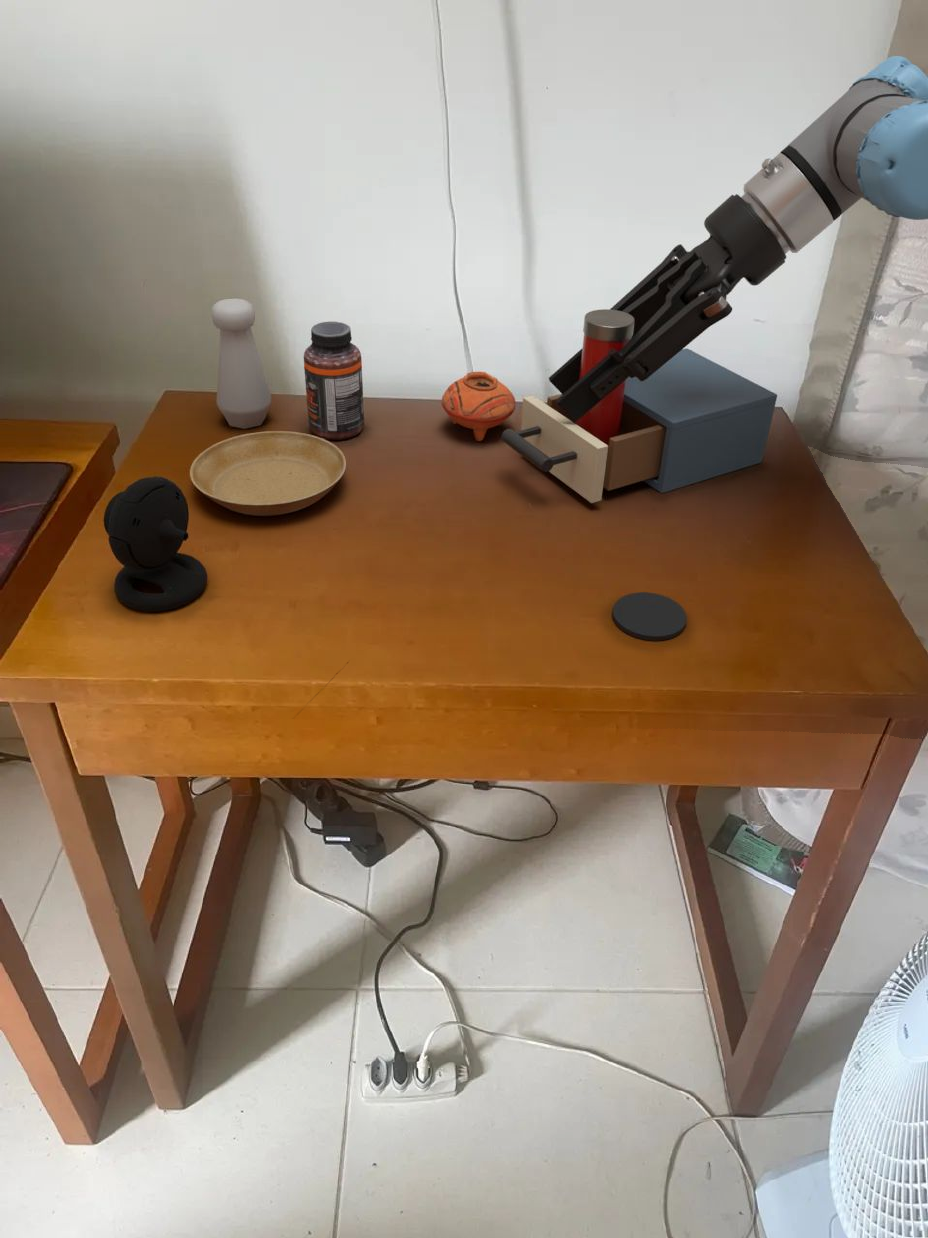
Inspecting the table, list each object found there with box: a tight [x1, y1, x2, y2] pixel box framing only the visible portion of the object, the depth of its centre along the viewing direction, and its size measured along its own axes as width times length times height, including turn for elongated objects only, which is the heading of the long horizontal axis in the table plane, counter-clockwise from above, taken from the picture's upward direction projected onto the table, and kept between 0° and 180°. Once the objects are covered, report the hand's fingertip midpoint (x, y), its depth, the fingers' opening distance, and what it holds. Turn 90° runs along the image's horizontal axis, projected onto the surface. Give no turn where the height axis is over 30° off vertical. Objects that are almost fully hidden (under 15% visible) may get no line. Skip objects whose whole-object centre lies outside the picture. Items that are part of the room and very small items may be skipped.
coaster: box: [611, 591, 688, 642], centre depth 80 cm, size 6×6×1 cm
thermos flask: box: [575, 308, 635, 464], centre depth 95 cm, size 5×5×14 cm
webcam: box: [103, 475, 208, 612], centre depth 79 cm, size 8×8×10 cm
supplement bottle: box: [303, 320, 365, 441], centre depth 103 cm, size 6×6×11 cm
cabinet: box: [623, 347, 778, 494], centre depth 102 cm, size 14×14×8 cm
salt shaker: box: [211, 298, 272, 430], centre depth 103 cm, size 6×6×13 cm
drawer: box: [501, 393, 667, 504], centre depth 97 cm, size 17×12×6 cm
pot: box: [441, 371, 517, 442], centre depth 105 cm, size 8×8×7 cm
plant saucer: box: [189, 430, 347, 517], centre depth 95 cm, size 15×15×3 cm
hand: (562, 399), depth 95 cm, fingers closed on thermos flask, 4 cm apart
